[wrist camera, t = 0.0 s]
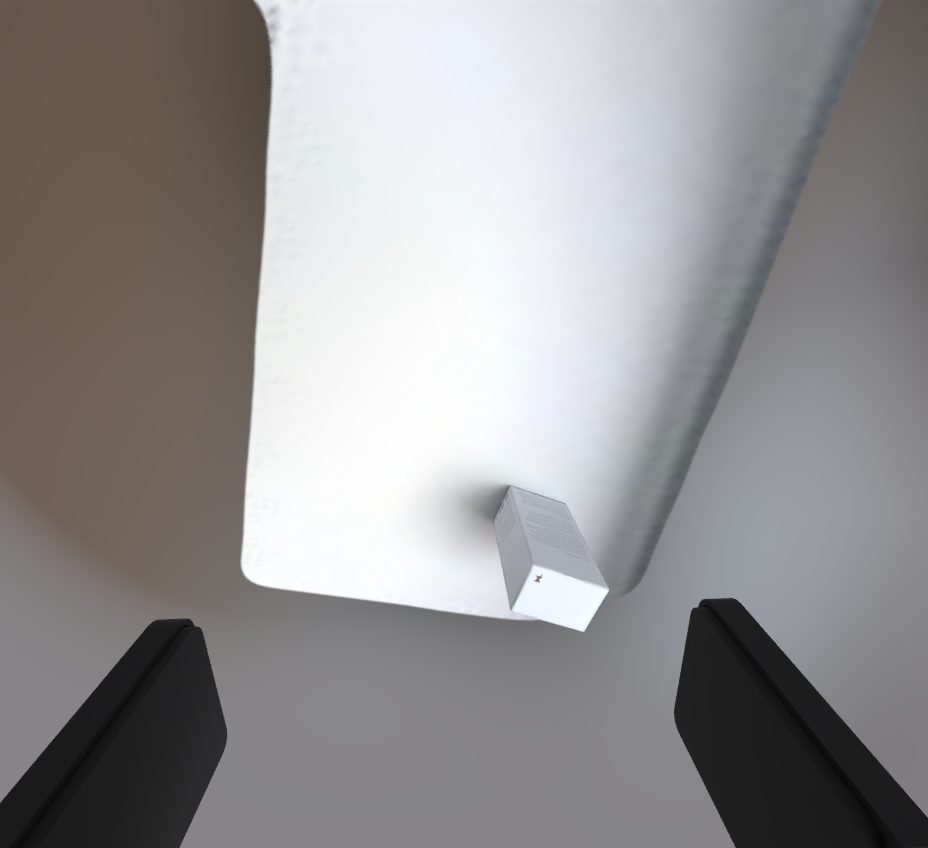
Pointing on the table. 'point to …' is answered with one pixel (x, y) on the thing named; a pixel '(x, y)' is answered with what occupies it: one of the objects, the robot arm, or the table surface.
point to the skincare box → (546, 561)
